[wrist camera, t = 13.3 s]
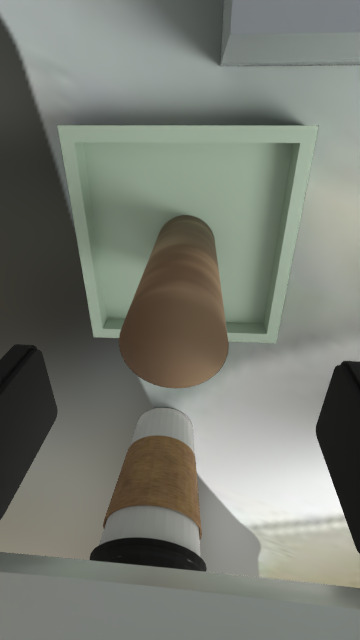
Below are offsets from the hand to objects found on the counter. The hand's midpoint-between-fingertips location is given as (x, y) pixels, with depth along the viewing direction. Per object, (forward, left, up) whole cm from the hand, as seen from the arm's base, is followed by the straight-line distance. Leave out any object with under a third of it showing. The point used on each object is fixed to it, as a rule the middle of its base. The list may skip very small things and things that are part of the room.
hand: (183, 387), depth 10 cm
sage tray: (+1, 0, -15) cm, 15 cm away
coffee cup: (+3, +20, -15) cm, 25 cm away
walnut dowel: (0, 0, -14) cm, 14 cm away
